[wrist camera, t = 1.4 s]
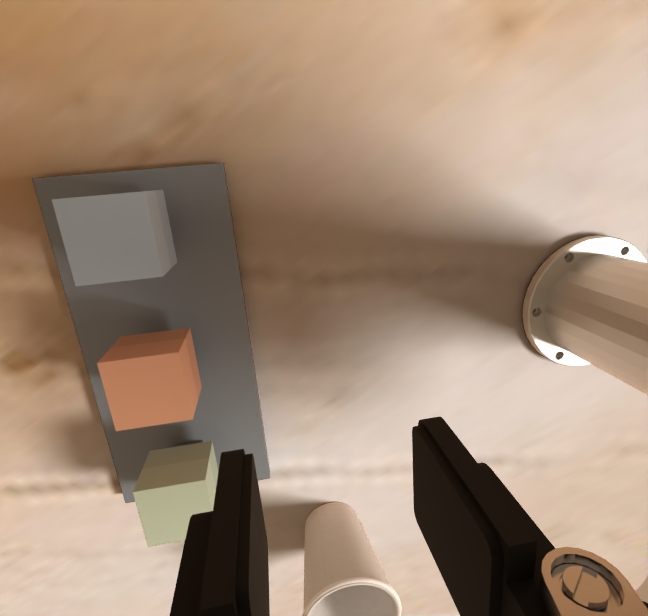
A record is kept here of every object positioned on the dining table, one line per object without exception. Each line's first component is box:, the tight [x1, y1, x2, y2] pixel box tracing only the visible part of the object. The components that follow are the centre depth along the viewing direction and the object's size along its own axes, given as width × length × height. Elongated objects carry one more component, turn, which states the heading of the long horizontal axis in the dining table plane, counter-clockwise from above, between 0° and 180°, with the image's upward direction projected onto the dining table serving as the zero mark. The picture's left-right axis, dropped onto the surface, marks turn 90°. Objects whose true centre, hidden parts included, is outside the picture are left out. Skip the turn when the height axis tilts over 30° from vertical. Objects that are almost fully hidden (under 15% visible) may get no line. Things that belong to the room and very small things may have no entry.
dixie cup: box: [302, 502, 401, 616], centre depth 38 cm, size 8×8×10 cm
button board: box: [32, 163, 270, 503], centre depth 33 cm, size 13×28×3 cm, turn 5°
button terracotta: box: [97, 328, 202, 431], centre depth 29 cm, size 5×5×5 cm
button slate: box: [52, 190, 177, 286], centre depth 26 cm, size 5×5×5 cm
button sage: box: [133, 441, 218, 547], centre depth 32 cm, size 5×5×5 cm
